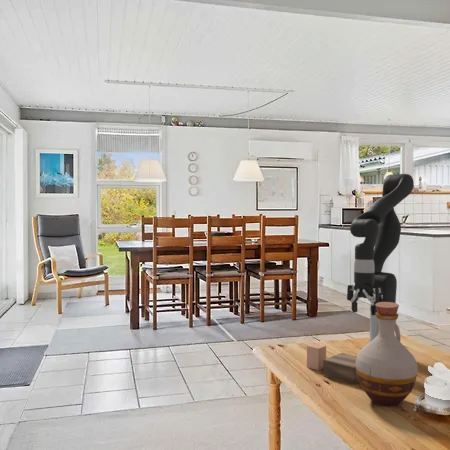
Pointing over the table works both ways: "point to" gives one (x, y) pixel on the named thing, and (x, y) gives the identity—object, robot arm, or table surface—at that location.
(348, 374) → the walnut block
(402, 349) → the jug
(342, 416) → the table surface
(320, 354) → the terracotta block
